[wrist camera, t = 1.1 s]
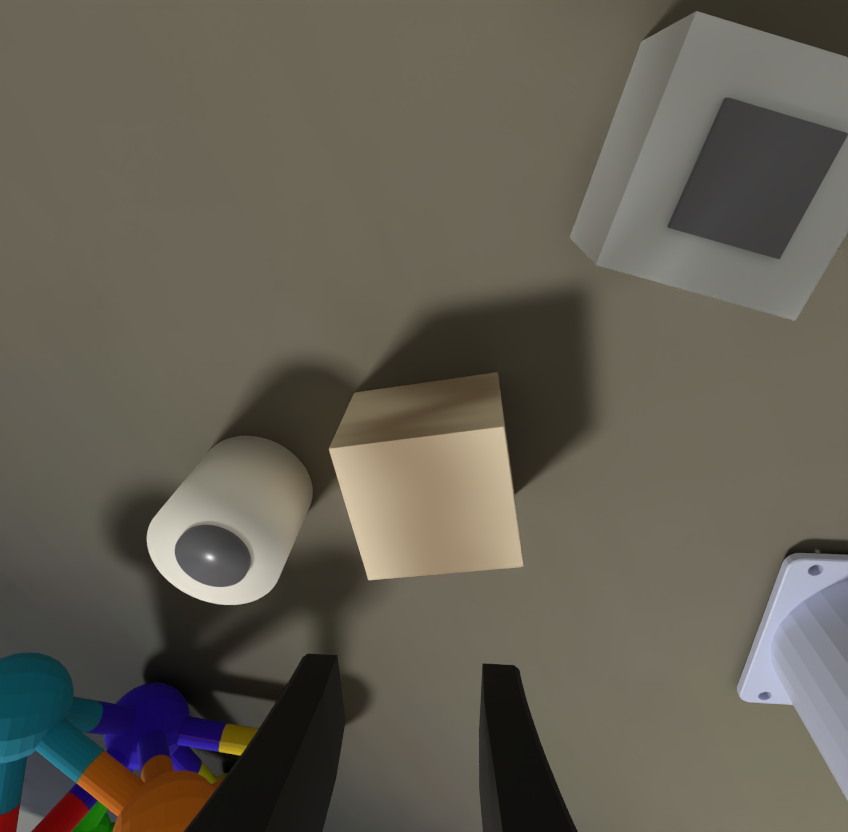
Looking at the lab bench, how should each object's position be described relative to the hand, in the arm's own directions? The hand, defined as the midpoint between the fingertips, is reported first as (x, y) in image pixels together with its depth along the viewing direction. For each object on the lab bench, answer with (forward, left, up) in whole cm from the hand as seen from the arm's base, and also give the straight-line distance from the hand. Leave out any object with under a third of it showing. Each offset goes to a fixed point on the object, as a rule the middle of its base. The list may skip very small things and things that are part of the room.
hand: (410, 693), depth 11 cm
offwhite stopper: (+7, +2, -10) cm, 12 cm away
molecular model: (+13, +16, -10) cm, 23 cm away
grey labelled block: (-7, -9, -10) cm, 15 cm away
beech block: (0, 0, -10) cm, 10 cm away
